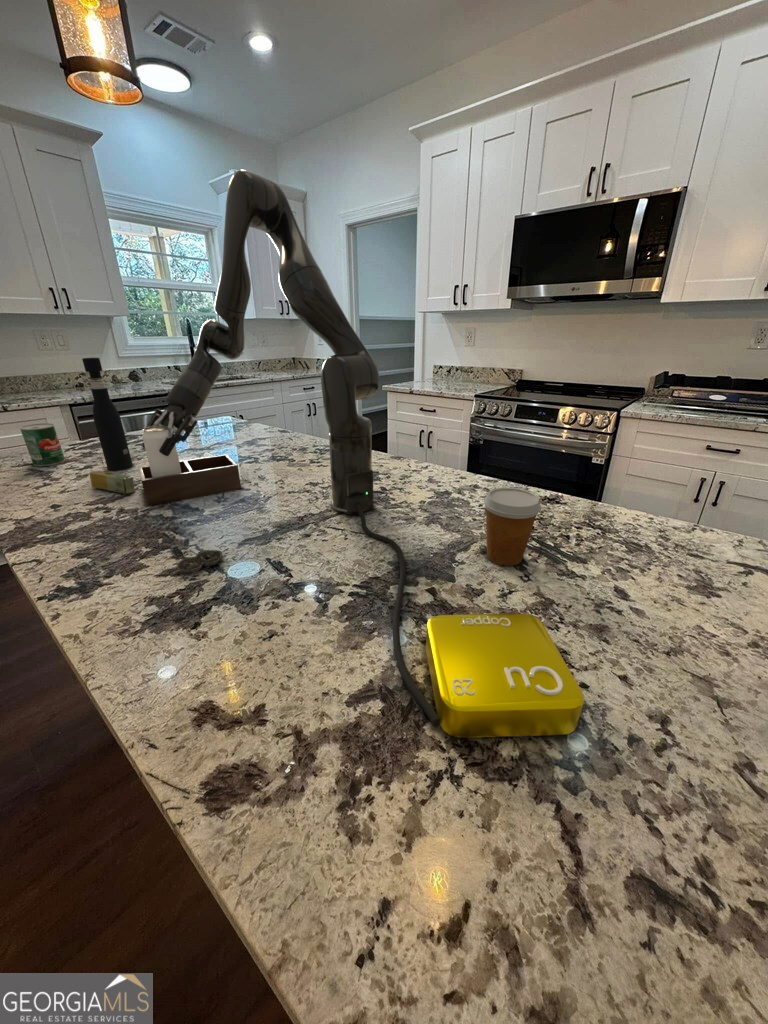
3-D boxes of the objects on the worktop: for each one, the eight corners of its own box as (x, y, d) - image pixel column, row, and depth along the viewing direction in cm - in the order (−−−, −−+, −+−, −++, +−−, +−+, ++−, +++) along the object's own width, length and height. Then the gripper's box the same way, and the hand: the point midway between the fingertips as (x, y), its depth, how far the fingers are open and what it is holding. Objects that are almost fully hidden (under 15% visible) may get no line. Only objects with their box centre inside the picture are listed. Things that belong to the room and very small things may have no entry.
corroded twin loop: (171, 568, 72) (170, 563, 72) (214, 551, 78) (213, 546, 77) (185, 579, 69) (183, 573, 69) (229, 560, 75) (228, 555, 74)
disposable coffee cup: (493, 574, 71) (502, 510, 66) (469, 547, 80) (475, 489, 74) (542, 566, 74) (554, 504, 68) (513, 541, 82) (522, 484, 77)
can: (187, 472, 104) (177, 425, 99) (172, 482, 99) (161, 432, 94) (162, 471, 105) (151, 424, 100) (147, 481, 99) (134, 431, 94)
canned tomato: (39, 459, 128) (27, 424, 123) (69, 457, 130) (58, 422, 125) (28, 467, 121) (14, 430, 116) (59, 465, 123) (47, 428, 119)
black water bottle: (109, 465, 123) (78, 357, 111) (133, 462, 126) (106, 356, 113) (106, 471, 118) (73, 359, 105) (132, 468, 120) (103, 358, 108)
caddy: (241, 488, 107) (237, 465, 104) (147, 506, 97) (141, 480, 94) (230, 475, 115) (227, 454, 113) (143, 490, 105) (137, 467, 102)
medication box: (136, 491, 105) (133, 476, 103) (126, 494, 102) (124, 478, 101) (100, 484, 108) (98, 469, 107) (90, 487, 106) (88, 471, 104)
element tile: (532, 637, 57) (537, 608, 55) (583, 736, 43) (593, 703, 41) (423, 639, 57) (425, 610, 55) (440, 740, 43) (443, 707, 41)
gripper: (160, 380, 102) (123, 438, 98) (196, 385, 95) (158, 448, 91) (184, 399, 108) (150, 454, 104) (219, 405, 101) (185, 464, 97)
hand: (154, 451), depth 98 cm, fingers closed on can, 6 cm apart
